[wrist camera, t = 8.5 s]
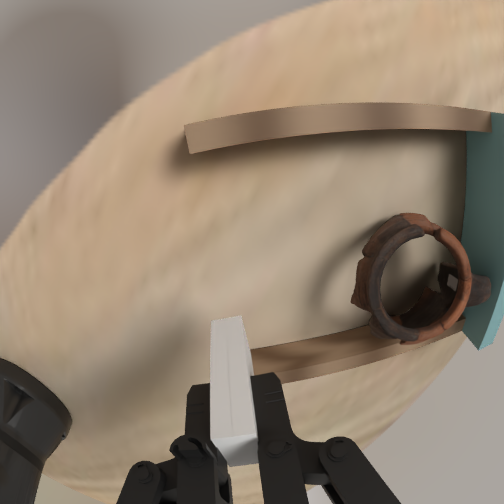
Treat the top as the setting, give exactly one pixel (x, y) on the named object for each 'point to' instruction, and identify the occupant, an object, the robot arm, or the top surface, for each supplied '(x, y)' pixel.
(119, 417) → the top surface
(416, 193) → the top surface
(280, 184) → the top surface
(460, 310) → the pottery mug
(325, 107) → the channel
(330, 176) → the top surface
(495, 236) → the end stop
